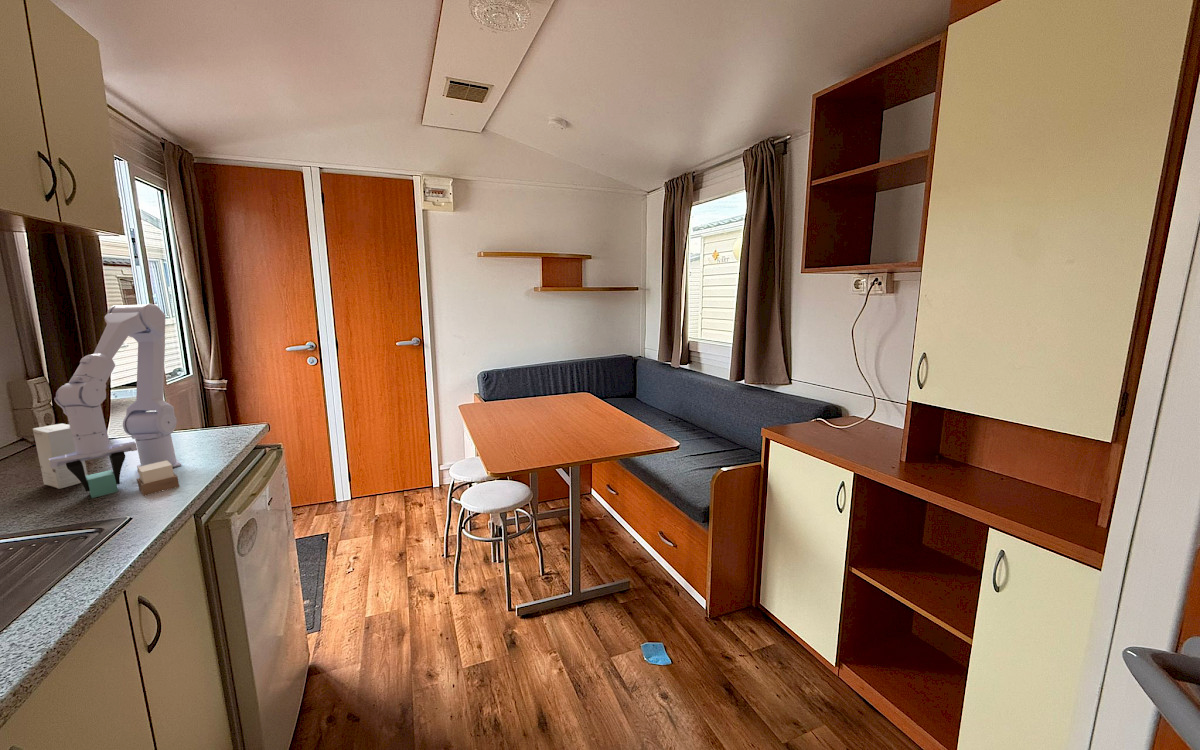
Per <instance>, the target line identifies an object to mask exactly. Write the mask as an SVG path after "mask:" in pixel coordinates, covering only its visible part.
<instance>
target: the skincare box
mask: <svg viewBox="0 0 1200 750" xmlns="http://www.w3.org/2000/svg"><path fill="white" fill-rule="evenodd" d="M32 432H33V436H34V442H35V446H36V451H37V456H38V462H39V465H40V472H41V475H42V476H41V477H42V480H43V482H42V483H43V484H44V485H45V486H50V487H53V488H56V489H58V490H59V489H64V488H68V487H71V486H75V485H79V484H82V483H81V482H80V481H79V479H78V478H77V477H76V476H75V475H74V474H73V473H72V472H71V471H70V470H68V468H67V466H66V465H61V466H58V467H55V468H51V466H50V462H49V458H54V457H58V456H62V455H66V454H70V453H74V452H76V449H75V445H74V441H73V437H72V433H71V429H70V425H69V423H67V424H66V423H56V424H50V425H45V426H40V427H34V428H32ZM81 462H82V465H83V468H84V472H85V477H86V475H89V474H88V470H87V469H88V468H87V465H86V460H85V461H81Z"/></svg>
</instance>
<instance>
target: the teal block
mask: <svg viewBox="0 0 1200 750" xmlns="http://www.w3.org/2000/svg"><path fill="white" fill-rule="evenodd" d="M86 480H87V483H88V485H89V489H90V491H88V493H89V494H90V498H91V499H93V498H98V497H102V496H105V495H109V494H114V493H118V492H119V489H118V484H116V480H115V476H114V473H113V469H109V470H105V471H100V472H97V473H96V472H95V473H91V474H88V475H86Z"/></svg>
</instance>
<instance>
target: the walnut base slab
mask: <svg viewBox="0 0 1200 750" xmlns="http://www.w3.org/2000/svg"><path fill="white" fill-rule="evenodd" d="M136 481H137V487H138V490H139V492H141V494H142V495H143V496H144V497H145V495H146V496H149V495H148V494H150V495H152V494H151V493H153V494H156V493H155V492H157V493H160V492H159V491H161V492H163V491H162V490H165V491H168V490H172V489H176V488H179V487H180V483H179V482H180V481H179V479H178V476H177V474H175V473H174V477H170V478H166V479H163V480H159V481H155V482H151V483H147V484H144V483H143V482H142V481H141V479H140V477H139V478H136ZM175 487H176V488H175ZM171 488H172V489H171ZM167 489H168V490H167Z"/></svg>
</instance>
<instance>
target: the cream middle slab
mask: <svg viewBox="0 0 1200 750" xmlns="http://www.w3.org/2000/svg"><path fill="white" fill-rule="evenodd" d="M136 468H137V472H138V476H139V478H140V479H141V481H142V482H143V483H144V484H147V483H151V482H155V481H159V480H163V479H166V478H170V477H174V474H175V472H174V469H173V468H174V467H172V465H171V464H170V463H169V462H168V461H167V460H166V461H161V462H157V463H153V464H148V465H144V466H139V467H137V466H136Z"/></svg>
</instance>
